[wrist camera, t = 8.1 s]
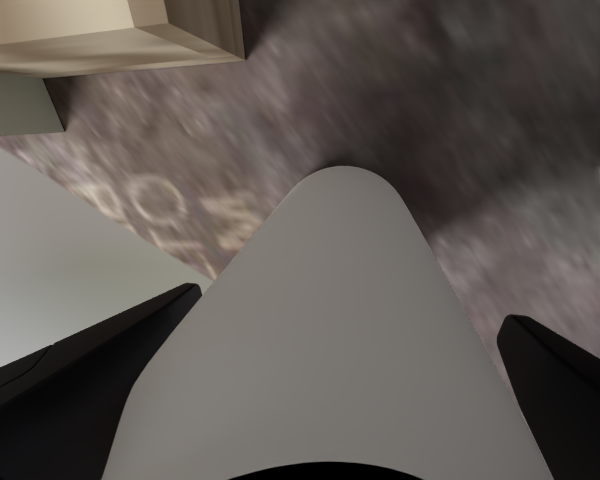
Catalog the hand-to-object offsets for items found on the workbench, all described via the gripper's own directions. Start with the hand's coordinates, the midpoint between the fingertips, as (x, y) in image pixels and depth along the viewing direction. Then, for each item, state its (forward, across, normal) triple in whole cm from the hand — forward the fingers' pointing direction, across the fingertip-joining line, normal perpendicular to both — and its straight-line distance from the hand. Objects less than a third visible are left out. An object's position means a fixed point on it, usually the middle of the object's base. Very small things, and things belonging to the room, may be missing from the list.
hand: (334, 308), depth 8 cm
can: (+7, 0, 0) cm, 7 cm away
